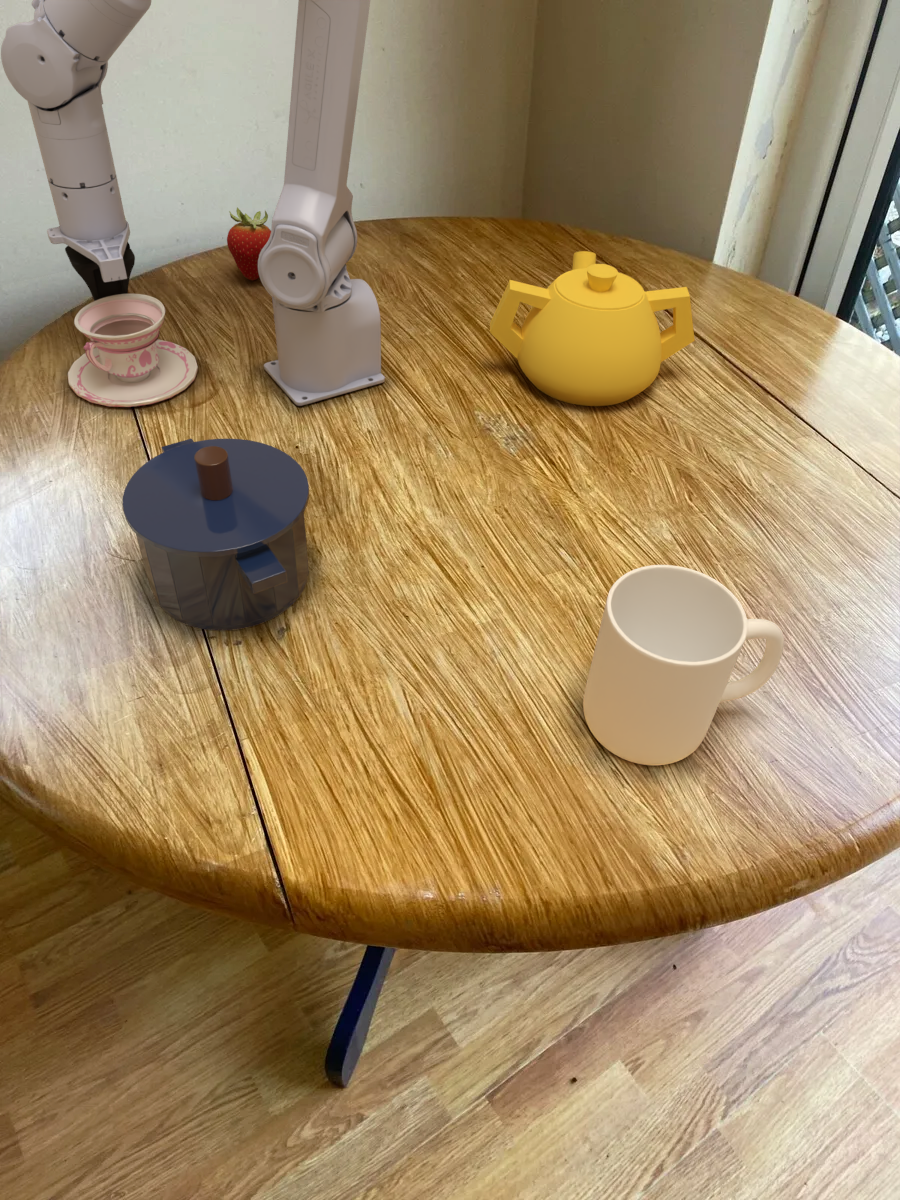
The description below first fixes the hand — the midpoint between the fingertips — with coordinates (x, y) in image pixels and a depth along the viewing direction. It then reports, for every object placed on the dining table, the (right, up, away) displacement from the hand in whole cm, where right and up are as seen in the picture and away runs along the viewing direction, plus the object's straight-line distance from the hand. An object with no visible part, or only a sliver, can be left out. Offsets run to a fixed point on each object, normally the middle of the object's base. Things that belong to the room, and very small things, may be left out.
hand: (115, 320), depth 89 cm
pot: (+16, -26, -20) cm, 37 cm away
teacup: (+2, -6, -1) cm, 6 cm away
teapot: (+46, -3, +4) cm, 47 cm away
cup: (+48, -35, -28) cm, 65 cm away
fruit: (+11, +9, +14) cm, 20 cm away
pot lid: (+17, -20, -26) cm, 37 cm away
